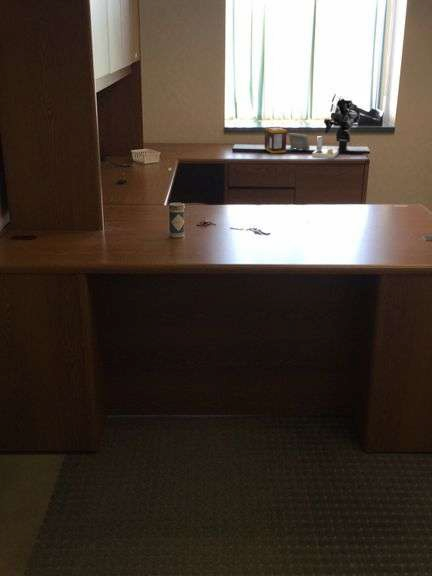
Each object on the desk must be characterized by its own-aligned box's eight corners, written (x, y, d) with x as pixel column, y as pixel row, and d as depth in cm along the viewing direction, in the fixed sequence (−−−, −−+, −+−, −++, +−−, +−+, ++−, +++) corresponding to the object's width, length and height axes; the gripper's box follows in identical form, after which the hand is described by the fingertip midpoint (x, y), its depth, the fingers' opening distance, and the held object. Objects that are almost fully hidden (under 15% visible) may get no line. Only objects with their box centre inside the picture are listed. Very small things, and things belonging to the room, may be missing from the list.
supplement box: (277, 148, 454) (278, 126, 447) (286, 152, 440) (287, 129, 434) (264, 149, 451) (264, 127, 444) (272, 153, 437) (273, 130, 431)
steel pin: (316, 155, 431) (317, 136, 426) (321, 155, 431) (322, 136, 426) (316, 156, 428) (317, 137, 423) (321, 156, 428) (322, 137, 422)
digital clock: (310, 149, 449) (311, 134, 444) (301, 151, 444) (302, 136, 439) (295, 146, 460) (295, 131, 456) (286, 147, 455) (286, 132, 451)
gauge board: (317, 152, 441) (318, 144, 439) (338, 153, 436) (338, 146, 434) (312, 156, 428) (312, 149, 426) (333, 158, 423) (333, 150, 421)
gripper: (326, 106, 433) (315, 124, 430) (349, 109, 420) (338, 128, 418) (332, 117, 441) (321, 135, 438) (354, 120, 429) (344, 138, 426)
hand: (331, 134), depth 430 cm, fingers open, 9 cm apart
